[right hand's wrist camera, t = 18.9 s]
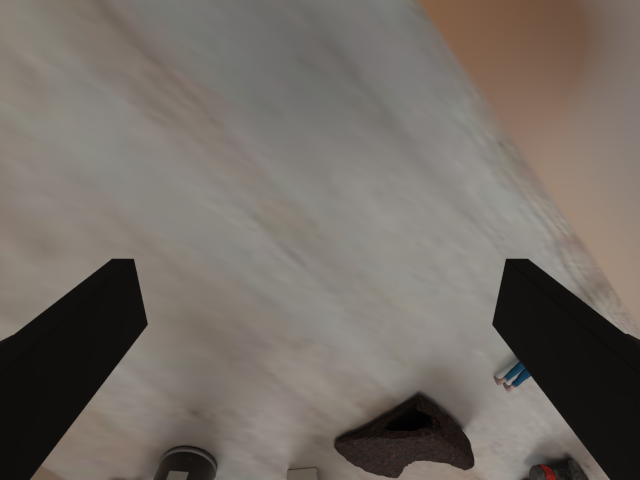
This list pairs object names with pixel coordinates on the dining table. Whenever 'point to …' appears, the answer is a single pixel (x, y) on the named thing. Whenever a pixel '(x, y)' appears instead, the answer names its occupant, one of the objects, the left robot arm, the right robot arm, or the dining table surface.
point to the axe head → (408, 441)
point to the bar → (302, 474)
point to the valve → (557, 472)
